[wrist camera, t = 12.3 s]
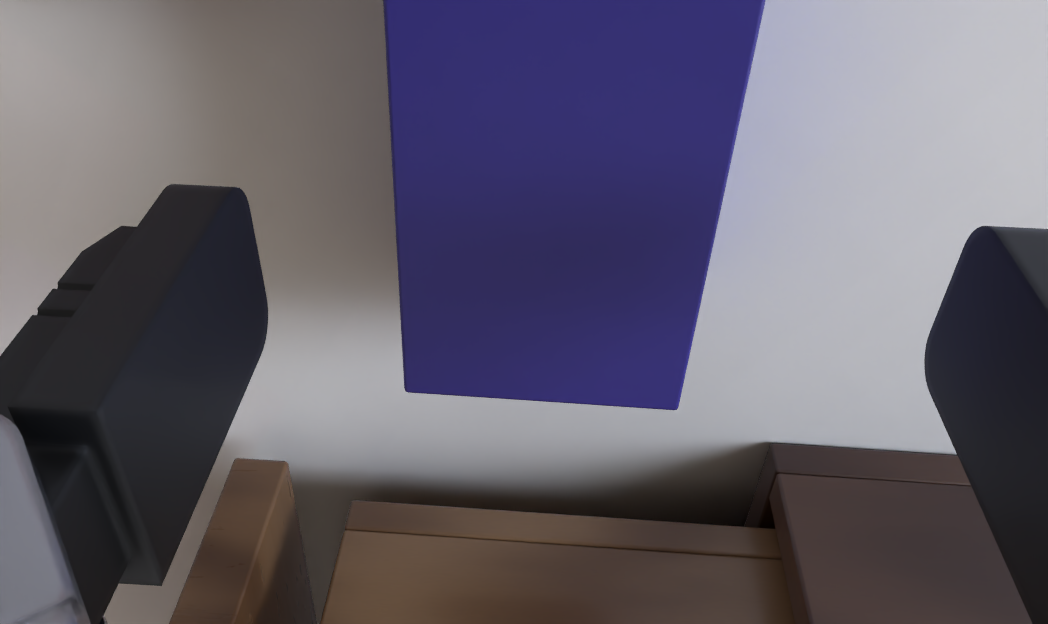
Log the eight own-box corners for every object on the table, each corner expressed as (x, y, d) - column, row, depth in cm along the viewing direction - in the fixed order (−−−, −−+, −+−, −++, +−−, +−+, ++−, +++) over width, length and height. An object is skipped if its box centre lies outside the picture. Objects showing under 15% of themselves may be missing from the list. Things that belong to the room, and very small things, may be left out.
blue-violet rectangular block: (432, 265, 17) (403, 393, 14) (418, -305, 11) (366, -273, 9) (662, 281, 17) (677, 412, 14) (762, -285, 11) (820, -246, 9)
